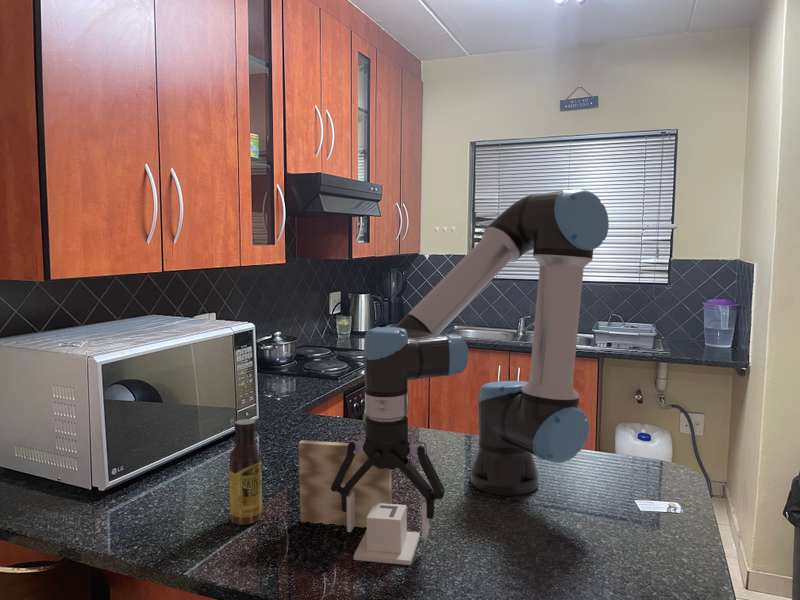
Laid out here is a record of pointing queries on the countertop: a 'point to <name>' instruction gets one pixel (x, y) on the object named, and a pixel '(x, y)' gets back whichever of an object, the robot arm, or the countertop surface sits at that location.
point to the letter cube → (386, 527)
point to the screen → (319, 474)
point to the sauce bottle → (245, 476)
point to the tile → (389, 557)
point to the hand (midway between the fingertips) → (387, 531)
